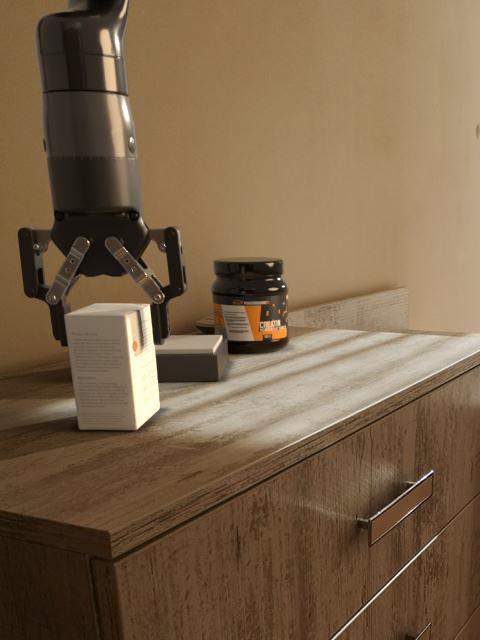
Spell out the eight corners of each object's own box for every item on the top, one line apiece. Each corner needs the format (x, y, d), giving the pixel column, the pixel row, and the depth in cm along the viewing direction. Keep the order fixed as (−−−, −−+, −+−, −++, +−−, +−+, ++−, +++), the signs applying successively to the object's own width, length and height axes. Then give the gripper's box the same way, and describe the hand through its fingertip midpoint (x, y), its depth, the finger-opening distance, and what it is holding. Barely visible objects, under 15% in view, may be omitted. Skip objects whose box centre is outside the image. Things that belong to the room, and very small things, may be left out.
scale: (84, 383, 94) (80, 351, 92) (108, 363, 105) (105, 334, 104) (218, 381, 95) (216, 350, 94) (228, 361, 106) (226, 333, 105)
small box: (106, 409, 82) (94, 302, 79) (161, 409, 82) (151, 302, 78) (76, 430, 75) (61, 313, 71) (137, 431, 75) (125, 313, 71)
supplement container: (230, 357, 109) (225, 263, 105) (204, 345, 117) (198, 258, 113) (302, 350, 114) (300, 260, 110) (272, 339, 122) (269, 255, 118)
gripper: (183, 156, 74) (196, 337, 80) (21, 156, 73) (47, 339, 79) (170, 152, 67) (186, 351, 73) (-9, 152, 66) (21, 353, 72)
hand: (113, 344), depth 76 cm, fingers open, 8 cm apart
